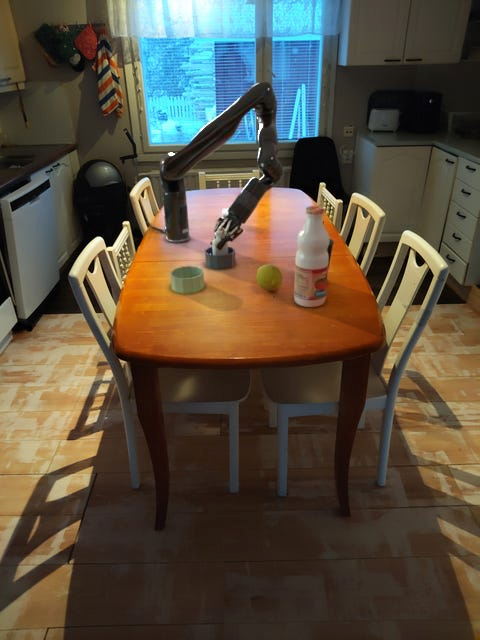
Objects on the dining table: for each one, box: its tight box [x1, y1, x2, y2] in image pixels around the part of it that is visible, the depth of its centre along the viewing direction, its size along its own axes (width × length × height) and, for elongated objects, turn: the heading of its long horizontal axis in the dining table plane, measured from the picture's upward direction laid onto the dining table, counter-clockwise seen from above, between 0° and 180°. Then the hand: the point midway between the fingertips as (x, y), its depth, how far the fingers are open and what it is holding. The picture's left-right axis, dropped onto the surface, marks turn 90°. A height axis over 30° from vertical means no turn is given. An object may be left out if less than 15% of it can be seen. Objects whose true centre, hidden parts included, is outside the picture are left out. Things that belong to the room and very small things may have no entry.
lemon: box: [256, 263, 283, 292], centre depth 144 cm, size 11×8×8 cm
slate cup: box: [204, 245, 236, 271], centre depth 163 cm, size 10×10×5 cm
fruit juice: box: [293, 205, 331, 308], centre depth 131 cm, size 9×9×28 cm
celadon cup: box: [169, 265, 205, 295], centre depth 147 cm, size 10×10×5 cm
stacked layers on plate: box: [221, 207, 230, 219], centre depth 206 cm, size 10×9×6 cm
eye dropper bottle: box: [211, 227, 229, 256], centre depth 161 cm, size 4×6×12 cm
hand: (215, 246), depth 160 cm, fingers closed on eye dropper bottle, 3 cm apart
